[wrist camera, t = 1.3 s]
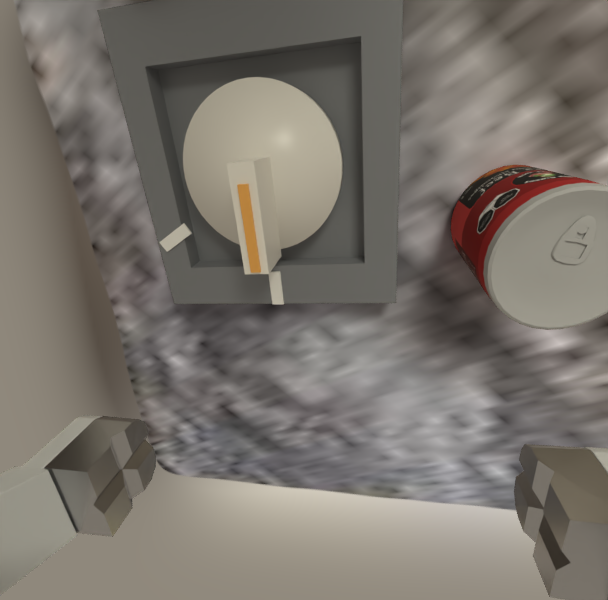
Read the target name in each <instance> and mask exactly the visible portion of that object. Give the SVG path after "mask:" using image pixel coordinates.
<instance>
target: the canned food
mask: <svg viewBox="0 0 608 600" xmlns="http://www.w3.org/2000/svg"><path fill="white" fill-rule="evenodd" d="M451 234H452V240H453V242H454V245H455V247H456V249H457V250H458V252H459V253H460V255H461V256H462V258H463V259H464V261H465V262H466V264H467V265H468V267H469V268H470V270H471V271H472V273H473V274H474V275H475V277H476V278H477V280H478V281H479V283H480V284H481V286H482V287H483V289H484V290H485V292H486V293H487V295H488V296H489V297H490V299H491V300H492V301H493V303H494V304H495V305H496V307H498V308H499V309H500V310H501V311H502V312H503V313H504V314H505V315H506V316H508V317H509V318H510V319H512V320H514V321H516V322H518V323H519V324H522V325H525V326H528V327H531V328H537V329H546V330H550V329H564V328H569V327H574V326H578V325H581V324H584V323H587V322H590V321H592V320H594V319H596V318H598V317H600V316H602V315H604V314H606V313H607V312H608V186H606V185H603V184H599V183H596V182H593V181H589V180H585V179H581V178H577V177H572V176H568V175H564V174H560V173H556V172H551V171H547V170H543V169H539V168H534V167H530V166H525V165H510V166H503V167H500V168H497V169H494V170H491V171H490V172H488V173H486V174H484V175H482V176H481V177H479V178H478V179H477V180H475V181H474V182H473V183H472V184H471V185H470V186H469V187H468V188H467V189H466V190H465V191H464V193H463V194H462V196H461V197H460V199H459V200H458V202H457V204H456V207H455V209H454V211H453V216H452V220H451Z"/></svg>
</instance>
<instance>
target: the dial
mask: <svg viewBox="0 0 608 600" xmlns="http://www.w3.org/2000/svg"><path fill="white" fill-rule="evenodd" d="M183 168H184V175H185V180H186V183H187V187H188V190H189V192H190V195H191V198H192V200H193V201H194V203H195V205H196V207H197V209H198V210H199V212H200V213H201V215H202V216H203V217H204V219H205V220H206V221H207V222H208V223H209V224H210V225H211V226H212V227H213V228H214V229H215V230H216V231H217V232H218V233H220V234H221V235H223V236H224V237H225V238H227V239H229V240H230V241H232V242H234V243H237V244H239V245H240V248H241V254H242V260H243V266H244V272H245V274H269V273H270V272H271V270H272V269H273V268H274V266H275V265H276V263H277V262H278V260H279V259H280V258H281V249H284V248H288V247H291V246H293V245H296V244H298V243H300V242H302V241H304V240H305V239H307V238H308V237H310V236H311V235H312V234H314V233H315V232H316V231H317V230H318V229H319V228H320V227H321V226H322V224H323V223H324V222H325V220H326V219H327V218H328V216H329V214H330V213H331V211H332V209H333V207H334V205H335V203H336V200H337V198H338V196H339V192H340V189H341V185H342V179H343V154H342V149H341V144H340V140H339V138H338V135H337V132H336V130H335V128H334V126H333V124H332V122H331V120H330V119H329V117H328V116H327V114H326V113H325V111H324V110H323V109H322V108H321V107H320V106H319V105H318V103H317V102H315V101H314V100H313V99H312V98H311V97H310V96H308V95H307V94H305V93H304V92H302V91H301V90H299V89H297V88H295V87H293V86H291V85H289V84H287V83H284V82H282V81H279V80H275V79H271V78H264V77H248V78H243V79H238V80H235V81H232V82H230V83H227V84H225V85H223V86H222V87H220V88H218V89H217V90H215V91H214V92H213V93H212V94H210V95H209V96H208V97H207V98H206V99H205V100H204V101H203V102H202V104H201V105H200V106H199V108H198V109H197V111H196V112H195V113H194V115H193V117H192V119H191V122H190V124H189V127H188V129H187V132H186V136H185V141H184V148H183Z"/></svg>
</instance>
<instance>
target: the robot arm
mask: <svg viewBox="0 0 608 600" xmlns="http://www.w3.org/2000/svg"><path fill="white" fill-rule="evenodd" d="M148 434H149V432H148V429H147V426H146V424H145V422H144V421H142V420H139V419H129V418H118V417H108V416H102V417H101V416H92V415H83V416H81V417H77V418H76V419H75V420H74V421H73V422H72V423H70V424H69V425H68V426H67V427H66V428H65V429H63V430H62V431H61V432H60V433H59V434H58V435H57V436H56V437H54V438H53V439H52V440H51V441H50V442H49V443H48V444H47V445H45V446H44V447H43V448H42V449H41V450H40V451H39V452H37V453H36V454H35V455H34V456H33V457H32V458H31V459H30V460H28V461H27V462H26V463H25V464H24V465H23V466H22V467H18V466H15V467H13V468H11V469H9V470H7V471H5V472H3V473H1V474H0V595H2V594H3V593H4V592H6V591H7V590H8V589H9V588H11V587H12V586H13V585H15V584H16V583H17V582H18V581H20V580H21V579H22V578H23V577H25V576H26V575H27V574H29V573H30V572H31V571H32V570H34V569H35V568H36V567H38V566H39V565H40V564H41V563H43V562H44V561H45V560H47V559H48V558H49V557H50V556H51V555H53V554H54V553H56V552H57V551H58V550H59V549H60V548H62V547H63V546H64V545H66V544H67V543H68V542H70V541H71V540H72V539H73V538H75V537H76V536H77V533H82V534H92V535H102V536H112V537H113V536H114V534H115V533H116V531H117V530H118V528H119V527H120V525H121V524H122V522H123V521H124V519H125V518H126V517H127V515H128V514H129V512H130V511H131V509H132V498H134V497H135V496H137V495H138V494H140V493H141V492H143V491H144V490H145V489H146V487H147V485H148V484H149V482H150V481H151V479H152V476H153V473H154V470H155V467H156V455H155V452H154V448H153V447H152V446H151V445H150V444H149V443H148V442H147V441H146V438H147V436H148ZM519 461H520V463H521V465H522V468H523V470H524V471H523V472H522V473H521V474H519V475H518V476H517V477H516V479H515V487H514V497H515V507H516V510H517V514H518V518H519V521H520V523H521V526H522V529H523V531H524V532H525V533H526V534H527V535H528V536H529V537H530V538H531V539H532V540H533V541H534V542H536V544H535V549H534V554H533V557H534V559H535V562H536V564H537V567H538V570H539V572H540V575H541V577H542V580H543V582H544V585H545V587H546V590H547V592H548V595H549V597H553V598H559V599H565V600H608V448H590V447H584V448H581V447H565V446H548V445H530V444H524V446H523V447H522V449H521V452H520V457H519Z"/></svg>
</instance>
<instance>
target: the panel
mask: <svg viewBox="0 0 608 600" xmlns="http://www.w3.org/2000/svg"><path fill="white" fill-rule="evenodd" d="M97 11H98V14H99V18H100V22H101V26H102V30H103V34H104V37H105V41H106V45H107V49H108V53H109V56H110V60H111V64H112V68H113V72H114V76H115V79H116V83H117V87H118V91H119V95H120V98H121V102H122V106H123V110H124V114H125V118H126V121H127V125H128V129H129V133H130V137H131V140H132V144H133V148H134V152H135V156H136V160H137V163H138V167H139V171H140V175H141V179H142V182H143V186H144V190H145V194H146V198H147V202H148V205H149V209H150V213H151V217H152V221H153V224H154V228H155V232H156V236H157V240H158V244H159V247H160V251H161V255H162V259H163V263H164V266H165V270H166V274H167V278H168V282H169V286H170V289H171V293H172V297H173V301H174V304H273V305H284V304H288V303H396V285H397V242H398V199H399V157H400V114H401V71H402V29H403V0H152V1H147V2H141V3H136V4H130V5H124V6H119V7H113V8H108V9H102V10H97ZM248 77H264V78H271V79H275V80H279V81H282V82H284V83H287V84H289V85H291V86H293V87H295V88H297V89H299V90H301V91H302V92H304V93H305V94H307V95H308V96H310V97H311V98H312V99H313V100H314V101H315V102H317V103H318V105H319V106H320V107H321V108H322V109H323V110H324V111H325V113H326V114H327V116H328V117H329V119H330V120H331V122H332V124H333V126H334V128H335V130H336V132H337V135H338V138H339V140H340V144H341V149H342V154H343V179H342V185H341V189H340V192H339V196H338V198H337V200H336V203H335V205H334V207H333V209H332V211H331V213H330V214H329V216H328V218H327V219H326V220H325V222H324V223H323V224H322V226H321V227H320V228H319V229H318V230H317V231H316V232H315V233H314V234H312V235H311V236H310V237H308V238H307V239H305V240H304V241H302V242H300V243H298V244H296V245H293V246H291V247H288V248H284V249H281V258H280V259H279V260H278V262H277V263H276V265H275V266H274V268H273V269H272V270H271V272H270V273H269V274H245V272H244V266H243V260H242V254H241V248H240V245H239V244H237V243H234V242H232V241H230V240H229V239H227V238H225V237H224V236H223V235H221V234H220V233H218V232H217V231H216V230H215V229H214V228H213V227H212V226H211V225H210V224H209V223H208V222H207V221H206V220H205V219H204V217H203V216H202V215H201V213H200V212H199V210H198V209H197V207H196V205H195V203H194V201H193V200H192V198H191V195H190V192H189V190H188V187H187V183H186V180H185V175H184V168H183V148H184V141H185V136H186V132H187V129H188V127H189V124H190V122H191V119H192V117H193V115H194V113H195V112H196V111H197V109H198V108H199V106H200V105H201V104H202V102H203V101H204V100H205V99H206V98H207V97H208V96H209V95H210V94H212V93H213V92H214V91H215V90H217V89H218V88H220V87H222V86H223V85H225V84H227V83H230V82H232V81H235V80H238V79H243V78H248Z"/></svg>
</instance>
